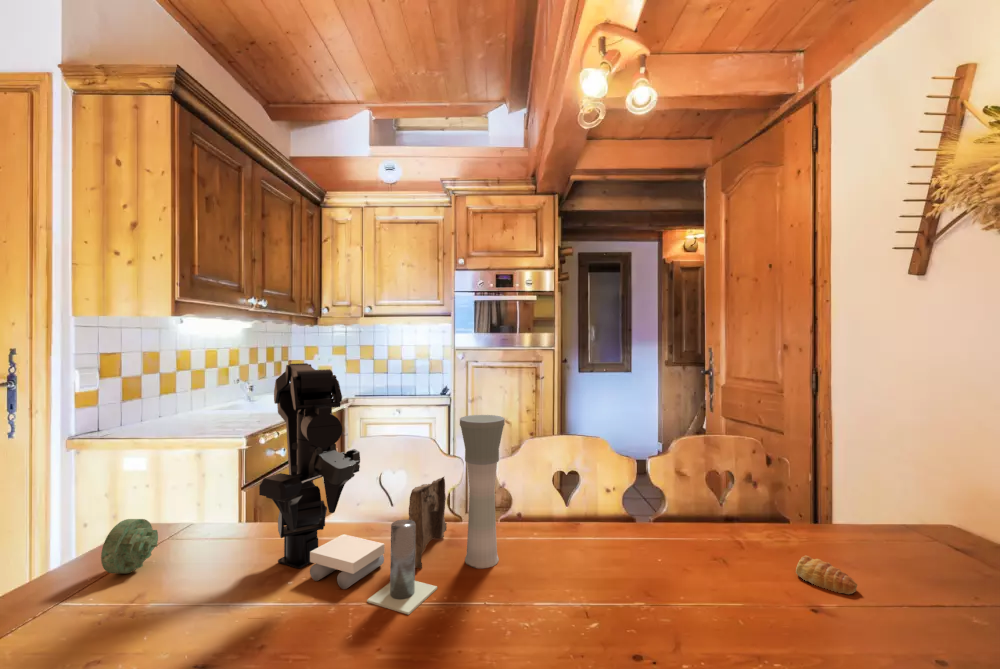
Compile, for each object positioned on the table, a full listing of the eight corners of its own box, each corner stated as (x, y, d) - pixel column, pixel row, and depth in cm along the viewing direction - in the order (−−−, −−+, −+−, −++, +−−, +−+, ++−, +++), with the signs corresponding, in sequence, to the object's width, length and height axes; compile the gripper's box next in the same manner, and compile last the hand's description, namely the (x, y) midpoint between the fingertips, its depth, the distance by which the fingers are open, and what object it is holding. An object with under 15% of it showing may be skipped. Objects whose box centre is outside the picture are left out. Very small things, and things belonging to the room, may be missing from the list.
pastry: (863, 590, 87) (863, 569, 87) (848, 601, 83) (847, 580, 83) (808, 569, 95) (807, 550, 95) (792, 578, 91) (791, 559, 91)
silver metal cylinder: (386, 598, 82) (387, 528, 83) (395, 585, 87) (396, 518, 87) (409, 600, 82) (410, 530, 82) (417, 587, 86) (418, 520, 86)
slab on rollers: (307, 578, 90) (308, 552, 90) (344, 556, 99) (344, 533, 99) (351, 591, 86) (351, 564, 86) (385, 567, 95) (386, 542, 95)
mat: (367, 602, 82) (367, 599, 82) (398, 578, 90) (398, 576, 90) (408, 614, 78) (408, 612, 78) (437, 588, 86) (437, 586, 86)
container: (496, 547, 104) (496, 413, 104) (510, 567, 95) (510, 421, 95) (454, 553, 101) (455, 416, 101) (465, 574, 92) (465, 423, 92)
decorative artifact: (140, 558, 98) (141, 511, 98) (173, 558, 98) (174, 511, 98) (100, 583, 88) (101, 531, 88) (137, 583, 88) (138, 531, 88)
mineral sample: (421, 569, 94) (421, 494, 94) (402, 567, 95) (402, 493, 95) (448, 535, 110) (448, 471, 110) (432, 533, 111) (432, 470, 111)
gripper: (305, 452, 74) (304, 550, 74) (381, 431, 91) (380, 511, 91) (257, 446, 79) (256, 537, 78) (338, 427, 96) (337, 502, 95)
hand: (313, 521), depth 86 cm, fingers open, 9 cm apart
